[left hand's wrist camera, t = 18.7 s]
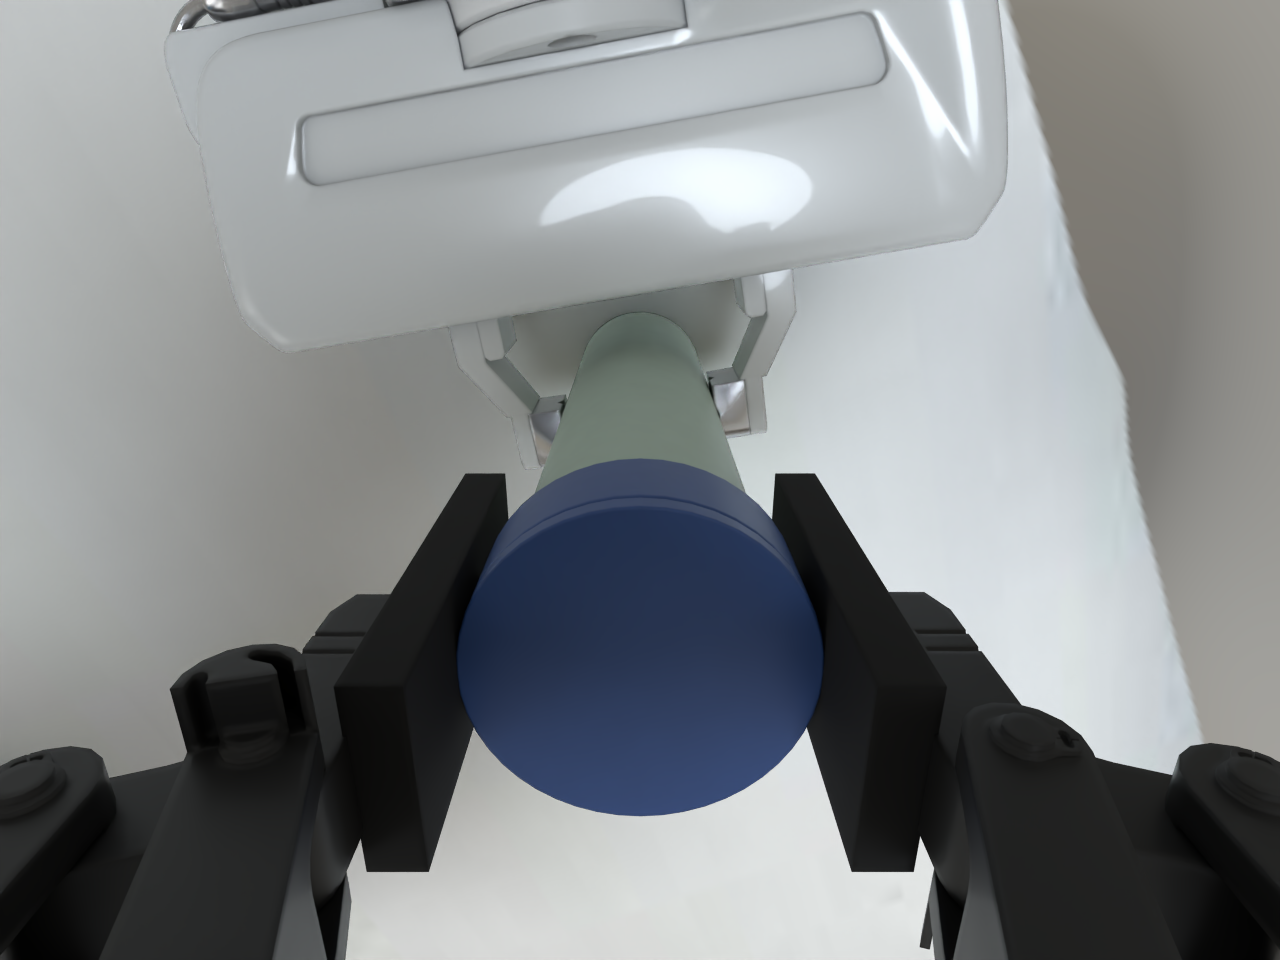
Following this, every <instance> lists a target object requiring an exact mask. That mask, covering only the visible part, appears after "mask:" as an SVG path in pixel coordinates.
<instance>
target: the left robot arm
mask: <svg viewBox="0 0 1280 960" xmlns="http://www.w3.org/2000/svg"><path fill="white" fill-rule="evenodd" d="M772 520H773V522H774V524H775V525H776V527H777V528H778V530H779V531H780V533H781V534H782V536H783V538H784V540H785V542H786V544H787V546H788V548H789V550H790V553H791V555H792V557H793V560H794V562H795V564H796V567H797V569H798V572H799V574H800V576H801V579H802V581H803V584H804V586H805V588H806V591H807V593H808V596H809V598H810V601H811V603H812V605H813V608H814V610H815V612H816V616H817V619H818V622H819V626H820V629H821V633H822V639H823V647H824V668H823V678H822V686H821V692H820V696H819V699H818V702H817V705H816V708H815V711H814V713H813V716H812V718H811V720H810V721H809V723H808V725H807V730H808V733H809V736H810V739H811V742H812V746H813V749H814V752H815V755H816V758H817V762H818V765H819V768H820V771H821V775H822V778H823V781H824V784H825V787H826V791H827V794H828V797H829V800H830V804H831V807H832V810H833V813H834V816H835V820H836V823H837V826H838V829H839V832H840V836H841V839H842V842H843V845H844V849H845V852H846V855H847V858H848V861H849V865H850V868H851V871H852V872H914V867H915V862H916V856H917V851H918V845H919V840H920V836H921V839H922V841H923V843H924V846H925V848H926V850H927V853H928V855H929V857H930V859H931V862H932V864H933V866H934V872H933V877H932V882H931V888H930V893H929V898H928V903H927V908H926V913H925V918H924V924H923V929H922V935H921V942H920V947H921V948H926V949H930V945H931V940H932V936H933V946H934V955H935V960H1280V762H1278V761H1276V760H1274V759H1273V758H1271V757H1269V756H1266V755H1263V754H1261V753H1258V752H1253V751H1251V750H1248V749H1244V748H1240V747H1236V746H1229V745H1221V744H1214V743H1208V744H1201V745H1194V746H1190V747H1189V748H1187V749H1186V750H1185V751H1184V752H1182V753H1181V754H1180V755H1179V757H1178V760H1177V763H1176V766H1175V769H1174V772H1173V775H1169V774H1164V773H1160V772H1155V771H1150V770H1146V769H1141V768H1136V767H1132V766H1127V765H1122V764H1118V763H1113V762H1110V761H1106V760H1103V759H1099V758H1096V757H1095V756H1094V753H1093V751H1092V750H1091V748H1090V747H1089V746H1088V744H1087V743H1086V741H1085V740H1084V739H1083V737H1082V736H1081V735H1080V734H1079V733H1077V732H1076V731H1075V730H1074V729H1072V728H1071V727H1070V726H1068V725H1067V724H1066V723H1064V722H1063V721H1062V720H1059V719H1057V718H1055V717H1053V716H1051V715H1049V714H1047V713H1045V712H1043V711H1040V710H1038V709H1034V708H1030V707H1026V706H1022V705H1021V704H1020V702H1019V701H1018V700H1017V698H1016V697H1015V696H1014V694H1013V693H1012V692H1011V690H1010V689H1009V688H1008V686H1007V685H1006V684H1005V682H1004V681H1003V680H1002V678H1001V677H1000V676H999V674H998V673H997V671H996V670H995V669H994V667H993V666H992V665H991V663H990V662H989V661H988V659H987V658H986V657H985V655H984V654H983V653H982V651H978V646H977V645H976V643H975V642H974V641H973V639H972V638H971V637H970V635H969V634H966V630H965V628H964V627H963V626H962V624H961V623H960V622H959V620H958V619H957V618H956V616H955V615H954V614H953V612H952V611H951V610H950V609H949V608H947V607H946V606H944V605H943V604H941V603H940V602H938V601H937V600H935V599H934V598H932V597H931V596H929V595H928V594H926V593H925V592H888V591H887V589H886V587H885V586H884V584H883V582H882V581H881V579H880V578H879V576H878V574H877V573H876V571H875V570H874V568H873V566H872V565H871V563H870V562H869V560H868V558H867V557H866V555H865V553H864V552H863V550H862V549H861V547H860V545H859V544H858V542H857V541H856V539H855V537H854V536H853V534H852V533H851V531H850V529H849V528H848V526H847V524H846V523H845V521H844V520H843V518H842V516H841V515H840V513H839V512H838V510H837V508H836V507H835V505H834V504H833V502H832V500H831V499H830V497H829V495H828V494H827V492H826V491H825V489H824V487H823V486H822V484H821V483H820V481H819V479H818V478H817V476H816V475H815V474H775V486H774V500H773V514H772ZM507 521H508V507H507V493H506V479H505V474H465V475H464V477H463V479H462V480H461V482H460V483H459V485H458V487H457V488H456V490H455V491H454V493H453V495H452V496H451V498H450V500H449V501H448V503H447V504H446V506H445V508H444V509H443V511H442V512H441V514H440V516H439V517H438V519H437V520H436V522H435V524H434V525H433V527H432V529H431V530H430V532H429V533H428V535H427V537H426V538H425V540H424V541H423V543H422V545H421V546H420V548H419V549H418V551H417V553H416V554H415V556H414V558H413V559H412V561H411V562H410V564H409V566H408V567H407V569H406V570H405V572H404V574H403V575H402V577H401V578H400V580H399V582H398V583H397V585H396V587H395V588H394V590H393V591H392V593H391V594H357V595H355V596H354V597H352V598H351V599H349V600H348V601H346V602H345V603H343V604H342V605H340V606H339V607H337V608H336V609H334V610H333V611H331V612H330V613H329V615H328V616H327V617H326V619H325V620H324V621H323V623H322V624H321V625H320V627H319V628H318V630H317V631H316V632H315V636H312V638H311V639H310V640H309V642H308V643H307V644H306V646H305V647H304V648H303V653H302V654H301V653H299V652H298V651H297V650H296V649H294V648H291V647H287V646H283V645H278V644H260V645H249V646H245V647H241V648H236V649H232V650H227V651H225V652H222V653H220V654H218V655H215V656H213V657H210V658H208V659H205V660H203V661H201V662H200V663H198V664H197V665H195V666H194V667H192V668H191V669H189V670H188V671H186V672H185V673H183V674H182V675H181V676H180V678H179V679H178V680H177V681H176V682H175V683H174V685H173V686H172V687H171V688H170V692H171V695H172V699H173V702H174V706H175V710H176V713H177V717H178V720H179V724H180V728H181V731H182V735H183V738H184V742H185V746H186V749H187V755H186V757H185V759H184V761H182V762H178V763H175V764H171V765H168V766H163V767H159V768H154V769H150V770H145V771H140V772H136V773H131V774H126V775H122V776H117V777H113V778H109V776H108V773H107V770H106V767H105V764H104V761H103V758H102V757H100V756H99V755H98V754H97V753H95V752H94V751H93V750H92V749H87V748H80V747H73V746H69V747H61V748H54V749H47V750H42V751H39V752H35V753H31V754H30V755H24V756H22V757H19V758H16V759H14V760H11V761H9V762H8V763H6V764H4V765H2V766H0V960H345V957H346V948H347V938H348V929H349V920H350V910H351V895H350V888H349V882H348V877H347V872H346V871H347V869H348V867H349V864H350V862H351V860H352V857H353V855H354V853H355V850H356V848H357V846H358V844H359V841H360V839H361V843H362V848H363V854H364V859H365V865H366V870H367V872H429V869H430V866H431V863H432V860H433V856H434V853H435V850H436V847H437V844H438V840H439V837H440V834H441V831H442V828H443V824H444V821H445V818H446V815H447V811H448V808H449V805H450V802H451V799H452V795H453V792H454V789H455V786H456V783H457V779H458V776H459V773H460V770H461V766H462V763H463V760H464V757H465V754H466V750H467V747H468V744H469V741H470V737H471V734H472V731H473V728H474V726H473V724H472V722H471V720H470V718H469V717H468V715H467V712H466V709H465V706H464V703H463V700H462V698H461V695H460V689H459V681H458V672H457V660H456V651H457V643H458V635H459V631H460V627H461V624H462V620H463V617H464V614H465V611H466V609H467V606H468V604H469V602H470V599H471V597H472V594H473V592H474V590H475V587H476V585H477V582H478V580H479V578H480V575H481V573H482V571H483V568H484V566H485V563H486V561H487V559H488V556H489V554H490V552H491V549H492V547H493V545H494V543H495V541H496V539H497V537H498V535H499V533H500V532H501V530H502V529H503V527H504V526H505V524H506V523H507Z"/></svg>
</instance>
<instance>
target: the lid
mask: <svg viewBox="0 0 1280 960" xmlns="http://www.w3.org/2000/svg"><path fill="white" fill-rule="evenodd" d="M456 660H457V672H458V681H459V689H460V695H461V698H462V700H463V703H464V706H465V709H466V712H467V715H468V717H469V718H470V720H471V722H472V724H473V726H474V728H475V730H476V732H477V733H478V735H479V736H480V738H481V739H482V741H483V742H484V743H485V745H486V746H487V748H488V749H489V750H490V751H491V752H492V753H493V754H494V755H495V756H496V758H497V759H498V760H499V761H500V762H501V763H502V764H503V765H504V766H505V767H507V768H508V769H509V770H510V771H511V772H513V773H514V774H515V775H516V776H517V777H519V778H520V779H522V780H523V781H525V782H526V783H528V784H529V785H531V786H532V787H534V788H535V789H537V790H539V791H541V792H543V793H545V794H547V795H549V796H551V797H553V798H555V799H557V800H560V801H563V802H565V803H568V804H571V805H573V806H576V807H580V808H584V809H588V810H592V811H596V812H601V813H608V814H615V815H627V816H654V815H666V814H673V813H679V812H685V811H689V810H693V809H697V808H700V807H704V806H707V805H710V804H713V803H715V802H718V801H721V800H723V799H726V798H728V797H730V796H732V795H734V794H736V793H738V792H740V791H742V790H744V789H745V788H747V787H748V786H750V785H751V784H753V783H754V782H756V781H757V780H759V779H761V778H762V777H763V776H764V775H766V774H767V773H768V772H769V771H770V770H772V769H773V768H774V767H775V766H776V765H778V764H779V763H780V761H781V760H782V759H783V758H784V757H785V756H786V755H787V754H788V753H789V752H790V751H791V750H792V748H793V747H794V746H795V744H796V743H797V741H798V740H799V738H800V737H801V736H802V734H803V733H804V731H805V729H806V727H807V725H808V723H809V721H810V720H811V718H812V716H813V713H814V711H815V708H816V705H817V702H818V699H819V696H820V692H821V686H822V678H823V668H824V647H823V639H822V633H821V629H820V626H819V622H818V619H817V616H816V612H815V610H814V608H813V605H812V603H811V601H810V598H809V596H808V593H807V591H806V588H805V586H804V584H803V581H802V579H801V576H800V574H799V572H798V569H797V567H796V564H795V562H794V560H793V557H792V555H791V553H790V550H789V548H788V546H787V544H786V542H785V540H784V538H783V536H782V534H781V533H780V531H779V530H778V528H777V527H776V525H775V524H774V522H773V520H772V519H771V518H770V517H769V516H768V515H767V513H766V512H765V511H764V510H763V509H762V508H761V507H760V506H759V505H758V504H757V503H756V502H755V501H754V500H753V499H751V498H750V497H749V496H748V495H747V494H746V493H744V492H743V491H742V490H740V489H739V488H737V487H736V486H734V485H732V484H731V483H729V482H728V481H726V480H724V479H722V478H720V477H718V476H716V475H714V474H712V473H710V472H707V471H705V470H702V469H699V468H696V467H693V466H690V465H687V464H683V463H677V462H672V461H667V460H659V459H643V458H638V459H622V460H614V461H608V462H603V463H598V464H594V465H591V466H588V467H585V468H581V469H578V470H575V471H573V472H571V473H569V474H567V475H565V476H562V477H560V478H558V479H556V480H554V481H553V482H551V483H550V484H548V485H547V486H545V487H543V488H542V489H540V490H539V491H537V492H536V493H535V494H534V495H533V496H531V497H530V498H529V499H528V500H527V501H526V502H524V503H523V504H522V505H521V506H520V507H519V508H518V510H517V511H516V512H515V513H514V514H513V515H512V516H511V517H510V519H509V520H508V521H507V523H506V524H505V526H504V527H503V529H502V530H501V532H500V533H499V535H498V537H497V539H496V541H495V543H494V545H493V547H492V549H491V552H490V554H489V556H488V559H487V561H486V563H485V566H484V568H483V571H482V573H481V575H480V578H479V580H478V582H477V585H476V587H475V590H474V592H473V594H472V597H471V599H470V602H469V604H468V606H467V609H466V611H465V614H464V617H463V620H462V624H461V627H460V631H459V635H458V643H457V651H456Z"/></svg>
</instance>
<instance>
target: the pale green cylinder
mask: <svg viewBox="0 0 1280 960" xmlns="http://www.w3.org/2000/svg"><path fill="white" fill-rule="evenodd" d="M638 458H643V459H659V460H667V461H672V462H677V463H683V464H687V465H690V466H693V467H696V468H699V469H702V470H705V471H707V472H710V473H712V474H714V475H716V476H718V477H720V478H722V479H724V480H726V481H728V482H729V483H731V484H732V485H734V486H736V487H737V488H739V489H740V490H742V491H743V492H744V493H745V490H744V487H743V484H742V481H741V478H740V475H739V473H738V470H737V467H736V464H735V461H734V458H733V456H732V453H731V450H730V447H729V444H728V441H727V438H726V436H725V433H724V430H723V427H722V424H721V421H720V418H719V416H718V413H717V410H716V407H715V404H714V401H713V399H712V396H711V393H710V390H709V387H708V384H707V381H706V379H705V376H704V373H703V370H702V367H701V364H700V361H699V359H698V356H697V353H696V350H695V348H694V346H693V344H692V342H691V340H690V339H689V337H688V336H687V334H686V333H685V332H684V331H683V330H682V329H681V328H680V327H679V326H678V325H676V324H675V323H674V322H672V321H670V320H669V319H667V318H665V317H662V316H660V315H656V314H652V313H645V312H634V313H628V314H624V315H621V316H618V317H616V318H614V319H612V320H610V321H608V322H607V323H605V324H604V325H603V326H602V327H601V328H599V329H598V330H597V332H596V333H595V334H594V335H593V336H592V338H591V339H590V341H589V343H588V345H587V347H586V349H585V352H584V355H583V358H582V360H581V363H580V366H579V369H578V372H577V375H576V378H575V380H574V383H573V386H572V389H571V392H570V395H569V398H568V400H567V403H566V406H565V409H564V412H563V415H562V418H561V420H560V423H559V426H558V429H557V432H556V435H555V437H554V440H553V443H552V446H551V449H550V452H549V455H548V457H547V460H546V463H545V466H544V469H543V472H542V475H541V477H540V480H539V483H538V486H537V489H536V492H537V491H539V490H540V489H542V488H543V487H545V486H547V485H548V484H550V483H551V482H553V481H554V480H556V479H558V478H560V477H562V476H565V475H567V474H569V473H571V472H573V471H575V470H578V469H581V468H585V467H588V466H591V465H594V464H598V463H603V462H608V461H614V460H622V459H638ZM536 492H535V493H536Z"/></svg>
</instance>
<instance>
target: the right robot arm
mask: <svg viewBox="0 0 1280 960" xmlns="http://www.w3.org/2000/svg"><path fill="white" fill-rule="evenodd" d="M284 9H285V10H284ZM207 14H209V16H210V17H211V18H212V19H213V20H214V21H216V22H220V23H215V24H210V25H205V26H200V27H195V28H193V27H194V26H195V25H196V23H197V22H198V21H199V20H200V19H201V18H202V17H203V16H205V15H207ZM164 52H165V60H166V65H167V70H168V73H169V76H170V79H171V82H172V84H173V87H174V90H175V93H176V96H177V99H178V102H179V105H180V108H181V110H182V113H183V116H184V119H185V122H186V124H187V126H188V129H189V131H190V132H191V134H192V136H193V138H194V139H195V140H196V142H197V143H198V144H199V146H200V152H201V158H202V164H203V170H204V175H205V180H206V186H207V191H208V196H209V201H210V207H211V211H212V215H213V220H214V224H215V228H216V233H217V237H218V242H219V245H220V249H221V253H222V257H223V261H224V265H225V268H226V272H227V275H228V279H229V282H230V286H231V289H232V293H233V296H234V299H235V302H236V305H237V308H238V311H239V313H240V315H241V317H242V319H243V321H244V322H245V323H246V325H248V326H249V327H250V328H251V329H252V330H253V331H255V332H256V333H257V334H258V335H260V336H261V337H262V338H263V339H264V340H266V341H267V342H268V343H269V344H271V345H272V346H274V347H275V348H276V349H278V350H279V351H281V352H284V353H295V352H301V351H307V350H313V349H319V348H325V347H331V346H337V345H343V344H349V343H355V342H361V341H367V340H373V339H379V338H384V337H390V336H396V335H402V334H408V333H414V332H420V331H426V330H432V329H438V328H444V327H448V329H449V333H450V337H451V341H452V344H453V348H454V352H455V356H456V360H457V364H458V367H459V368H460V369H461V370H462V371H463V372H464V373H465V374H466V375H467V377H468V378H469V379H470V380H471V381H472V382H473V383H474V384H475V385H476V386H477V387H478V388H479V389H480V390H481V391H482V392H483V393H484V394H485V395H486V396H487V397H488V399H489V400H490V401H491V402H492V403H493V404H494V405H495V406H496V407H497V408H498V409H499V410H500V411H501V412H502V413H503V414H504V415H505V416H506V417H511V420H512V424H513V428H514V432H515V436H516V441H517V445H518V449H519V453H520V457H521V461H522V464H523V466H524V468H525V470H526V469H535V468H541V467H544V466H545V463H546V460H547V457H548V455H549V452H550V449H551V446H552V443H553V440H554V437H555V435H556V432H557V429H558V426H559V423H560V420H561V418H562V415H563V412H564V409H565V406H566V403H567V398H566V395H559V396H551V397H544V398H540V396H539V395H538V394H537V393H536V391H535V390H534V389H533V388H532V387H531V386H530V384H529V383H528V382H527V381H526V380H525V379H524V377H523V376H522V375H521V374H520V373H519V371H518V370H517V369H516V368H515V367H514V366H513V364H512V363H511V362H510V361H509V360H508V359H507V357H506V356H505V355H506V354H507V352H508V351H509V350H510V349H511V347H512V346H513V345H514V344H515V342H516V341H517V339H516V335H515V330H514V325H513V321H512V316H515V315H521V314H527V313H533V312H539V311H545V310H551V309H557V308H563V307H569V306H575V305H580V304H586V303H592V302H598V301H604V300H610V299H616V298H622V297H628V296H634V295H640V294H646V293H652V292H658V291H664V290H670V289H675V288H681V287H687V286H693V285H699V284H705V283H711V282H717V281H723V280H729V279H733V281H734V288H735V296H736V304H737V305H738V306H739V307H740V309H741V310H742V311H743V312H744V313H745V315H747V316H748V317H750V318H751V321H750V323H749V325H748V328H747V330H746V333H745V335H744V338H743V340H742V343H741V345H740V347H739V350H738V352H737V355H736V357H735V360H734V362H733V365H732V366H733V367H730V368H724V369H719V370H714V371H708V372H707V380H708V387H709V390H710V393H711V396H712V399H713V401H714V404H715V407H716V410H717V413H718V416H719V418H720V421H721V424H722V427H723V430H724V433H725V436H726V438H734V437H740V436H747V435H753V434H760V433H766V431H767V418H766V409H765V399H764V390H763V380H762V377H763V376H767V374H768V371H769V369H770V367H771V365H772V363H773V361H774V359H775V356H776V354H777V352H778V350H779V348H780V346H781V343H782V341H783V339H784V337H785V335H786V333H787V331H788V328H789V326H790V324H791V322H792V320H793V318H794V315H795V313H796V302H795V290H794V277H793V269H794V268H800V267H806V266H812V265H818V264H824V263H830V262H836V261H842V260H848V259H854V258H860V257H865V256H871V255H877V254H883V253H889V252H895V251H901V250H907V249H913V248H919V247H925V246H931V245H937V244H942V243H948V242H954V241H960V240H966V239H968V238H971V237H973V236H974V235H975V234H976V233H977V232H978V231H979V229H980V228H981V227H982V225H983V224H984V223H985V221H986V220H987V218H988V217H989V215H990V214H991V212H992V210H993V209H994V207H995V206H996V204H997V203H998V201H999V200H1000V198H1001V196H1002V194H1003V192H1004V189H1005V184H1006V177H1007V164H1008V119H1007V93H1006V75H1005V63H1004V51H1003V40H1002V31H1001V22H1000V13H999V5H998V0H190V1H188V2H187V3H186V4H184V6H183V7H182V8H181V9H180V10H179V12H178V13H177V15H176V17H175V18H174V21H173V23H172V26H171V29H170V33H169V35H168V36H167V38H166V40H165V47H164Z"/></svg>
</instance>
